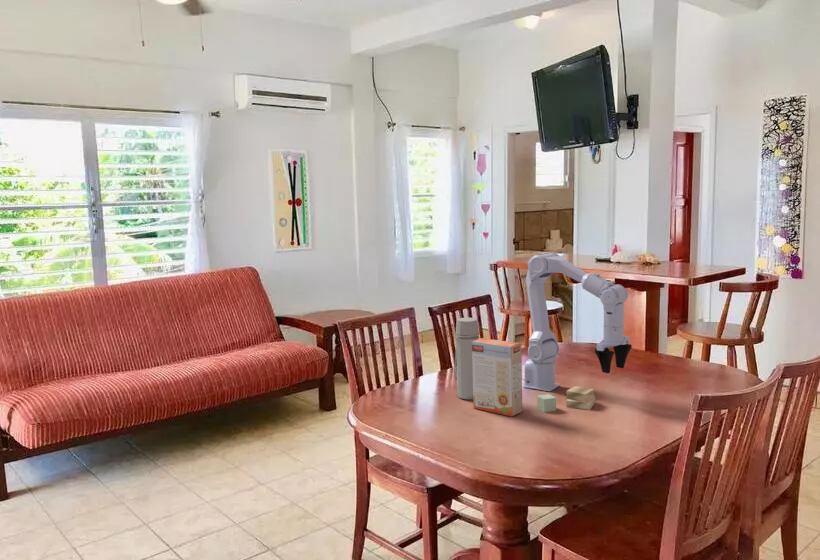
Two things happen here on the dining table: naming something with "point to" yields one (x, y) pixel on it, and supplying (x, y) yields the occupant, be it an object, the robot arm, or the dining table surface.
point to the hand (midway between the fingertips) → (613, 370)
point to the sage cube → (546, 403)
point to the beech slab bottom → (580, 404)
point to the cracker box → (497, 376)
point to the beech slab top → (580, 394)
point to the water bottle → (465, 355)
